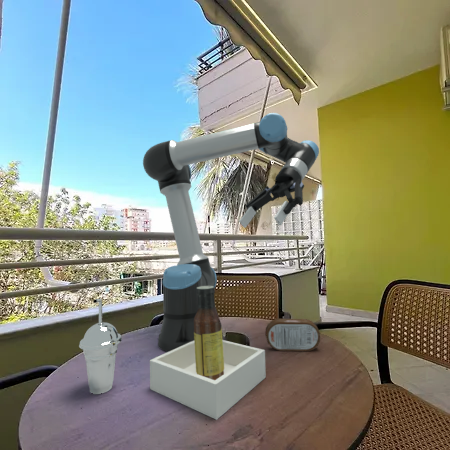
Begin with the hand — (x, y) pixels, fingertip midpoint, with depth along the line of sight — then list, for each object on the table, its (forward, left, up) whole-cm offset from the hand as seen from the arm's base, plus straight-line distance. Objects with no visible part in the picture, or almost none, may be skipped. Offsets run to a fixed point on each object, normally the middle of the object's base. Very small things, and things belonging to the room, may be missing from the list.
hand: (258, 223), depth 77 cm
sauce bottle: (-2, -20, -35) cm, 40 cm away
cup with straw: (-20, -35, -36) cm, 54 cm away
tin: (+6, +7, -36) cm, 37 cm away
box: (-2, -20, -36) cm, 41 cm away
